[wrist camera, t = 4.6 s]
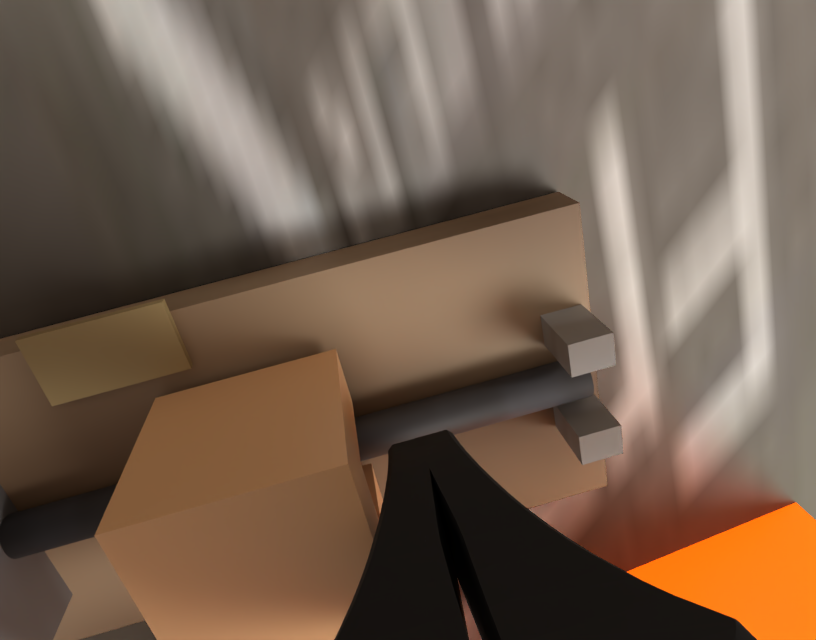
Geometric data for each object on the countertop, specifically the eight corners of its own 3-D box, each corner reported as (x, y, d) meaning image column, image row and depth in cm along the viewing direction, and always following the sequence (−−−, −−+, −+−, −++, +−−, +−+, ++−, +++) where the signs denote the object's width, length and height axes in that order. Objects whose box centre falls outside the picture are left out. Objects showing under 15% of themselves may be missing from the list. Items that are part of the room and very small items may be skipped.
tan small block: (384, 506, 15) (411, 653, 11) (229, 551, 15) (203, 717, 11) (336, 348, 13) (347, 464, 9) (154, 398, 13) (94, 536, 9)
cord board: (589, 466, 17) (694, 616, 13) (10, 634, 17) (-107, 862, 12) (556, 179, 14) (686, 239, 9) (-187, 374, 13) (-467, 553, 8)
